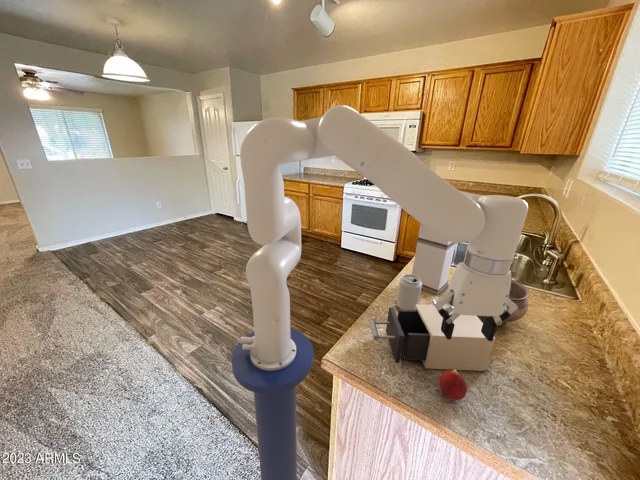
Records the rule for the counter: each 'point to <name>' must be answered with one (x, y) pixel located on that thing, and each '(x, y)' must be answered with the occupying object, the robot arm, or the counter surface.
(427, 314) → the cream rectangular box
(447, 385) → the onion
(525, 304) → the cooking pot
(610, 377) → the counter surface
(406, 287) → the can
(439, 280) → the tall white column
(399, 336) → the dark pull-out drawer
